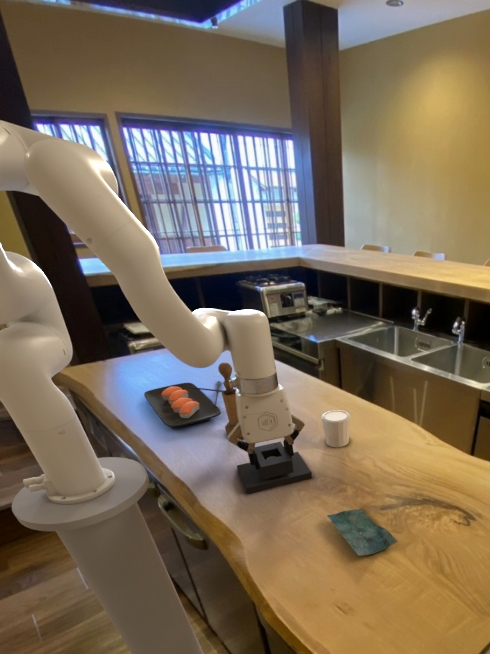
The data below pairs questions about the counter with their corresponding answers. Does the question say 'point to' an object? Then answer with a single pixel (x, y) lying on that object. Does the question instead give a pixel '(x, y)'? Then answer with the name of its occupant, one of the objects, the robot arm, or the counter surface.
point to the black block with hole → (273, 460)
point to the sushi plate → (182, 404)
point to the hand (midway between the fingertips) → (272, 462)
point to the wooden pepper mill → (229, 398)
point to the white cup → (336, 427)
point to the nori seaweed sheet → (362, 532)
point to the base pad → (257, 483)
